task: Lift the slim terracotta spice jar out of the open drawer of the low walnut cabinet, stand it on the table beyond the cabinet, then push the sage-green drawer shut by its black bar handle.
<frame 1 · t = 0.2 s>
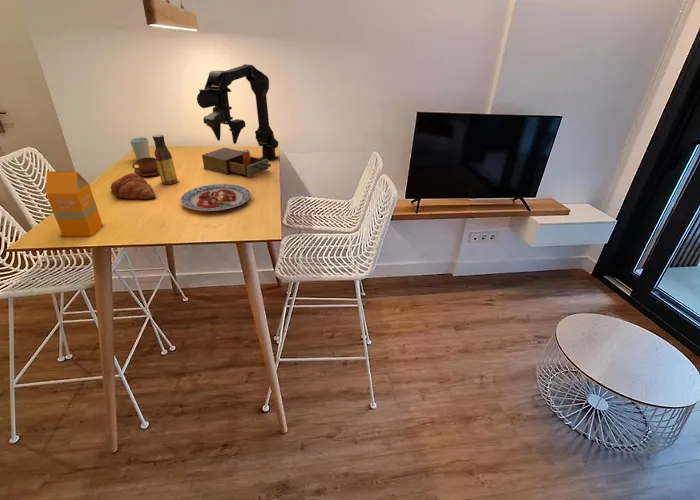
hand: (226, 142, 167), 15 cm above the table, tool pointing down, fingers open, 9 cm apart
orange juice: (83, 231, 124), on the table
cabinet: (227, 167, 182), on the table
sauce bottle: (169, 182, 163), on the table
cup: (144, 161, 186), on the table
spice jar: (247, 168, 176), point 2 cm above the table, touching drawer
ceramic plate: (217, 201, 148), on the table
pastry: (134, 194, 151), on the table
drawer: (251, 166, 175), point 3 cm above the table, slide at 11.0 cm, touching spice jar
cup and saucer: (150, 173, 171), on the table
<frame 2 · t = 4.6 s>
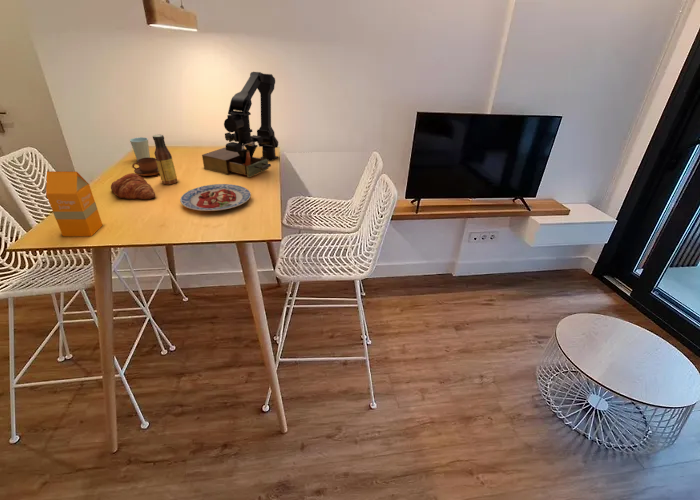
hand: (246, 162, 175), 5 cm above the table, tool pointing down, fingers closed on spice jar, 3 cm apart
spice jar: (247, 168, 176), point 2 cm above the table, touching drawer, gripper
everything else where it was.
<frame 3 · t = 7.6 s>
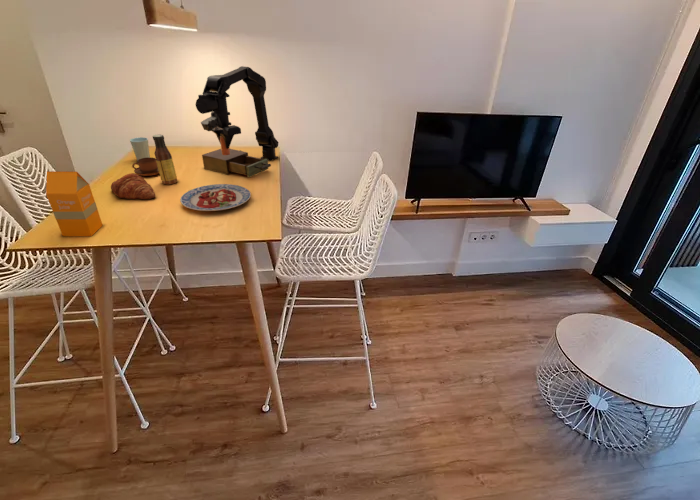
hand: (225, 147, 165), 13 cm above the table, tool pointing down, fingers closed on spice jar, 3 cm apart
spice jar: (226, 154, 166), point 10 cm above the table, touching gripper
drawer: (251, 166, 175), point 3 cm above the table, slide at 11.0 cm
everything else where it was.
when the fingers open (3 cm above the table, at t = 11.0 s): spice jar stays where it is, on the table.
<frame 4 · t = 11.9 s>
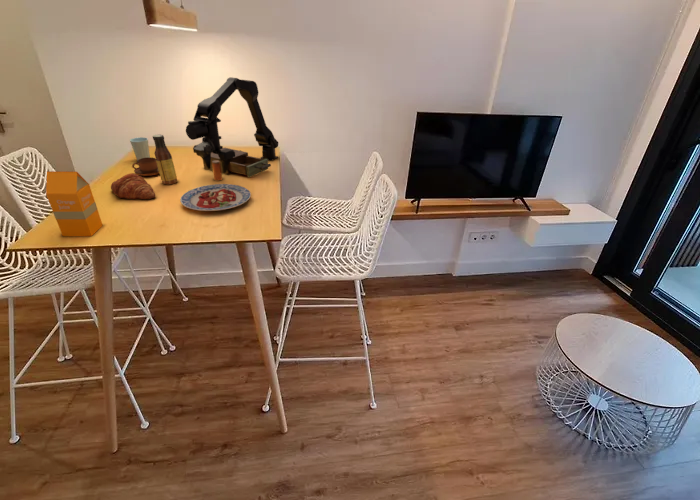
hand: (216, 170, 166), 4 cm above the table, tool pointing down, fingers open, 9 cm apart
spice jar: (218, 179, 168), on the table
everything else where it was.
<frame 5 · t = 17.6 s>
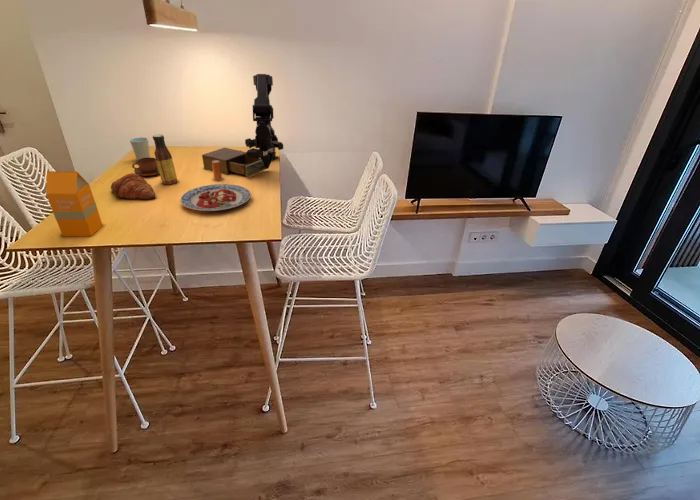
hand: (267, 168, 171), 4 cm above the table, tool pointing down, fingers closed, pressing on drawer
drawer: (249, 165, 175), point 3 cm above the table, slide at 10.2 cm, touching gripper
everything else where it was.
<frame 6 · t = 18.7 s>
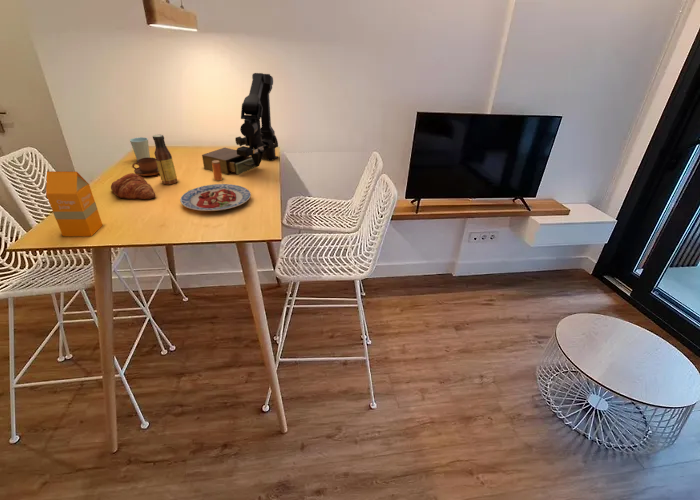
hand: (257, 166, 173), 4 cm above the table, tool pointing down, fingers closed, pressing on drawer
drawer: (240, 163, 177), point 3 cm above the table, slide at 4.8 cm, touching gripper
everything else where it was.
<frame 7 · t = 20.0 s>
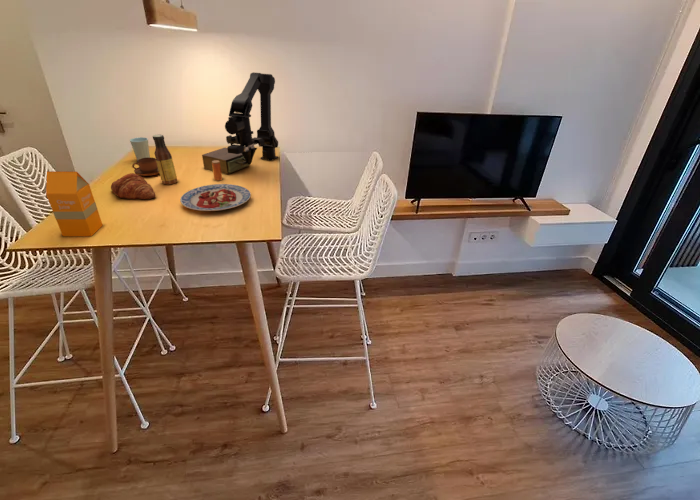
hand: (249, 164, 175), 4 cm above the table, tool pointing down, fingers closed, pressing on drawer
drawer: (232, 162, 179), point 3 cm above the table, slide at 0.0 cm, touching cabinet, gripper
everything else where it was.
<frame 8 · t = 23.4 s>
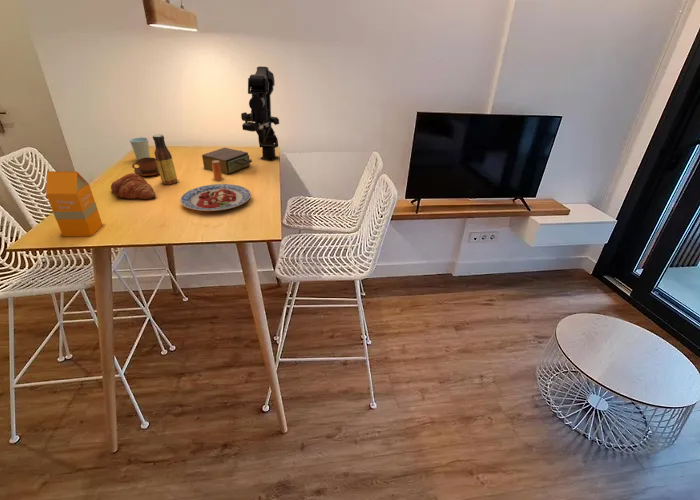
hand: (262, 143, 173), 13 cm above the table, tool pointing down, fingers closed
drawer: (232, 162, 179), point 3 cm above the table, slide at 0.0 cm, touching cabinet
everything else where it was.
at the end: spice jar inside the target area (0.1 cm from its centre), on the table; spice jar tilted 0°; drawer slide at 0.0 cm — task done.
